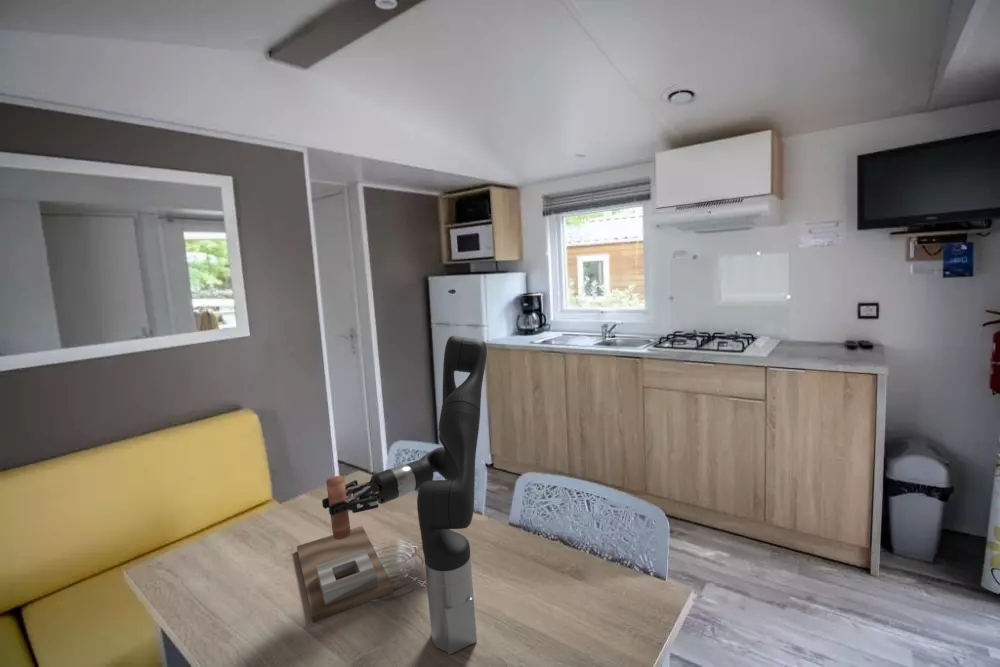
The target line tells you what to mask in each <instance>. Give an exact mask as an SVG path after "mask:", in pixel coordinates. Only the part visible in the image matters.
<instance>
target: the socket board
mask: <svg viewBox="0 0 1000 667" xmlns="http://www.w3.org/2000/svg"><path fill="white" fill-rule="evenodd" d="M350 531H351V534H350V535H349V536H348V537H347V538H344V539H340V540H337V539H334V538H333V534H331V535H328V536H325V537H322V538H319V539H315V540H312V541H309V542H305V543H302V544H299V545H296V550H297V555H298V560H299V564H300V568H301V573H302V578H303V583H304V586H305V587H304V588H305V591H306V596H307V601H308V605H309V610H310V615H311V619H312V623H316V622H318V621H322V620H324V619H326V618H330V617H331V616H334V615H336V614H339V613H341V612H344V611H348V610H350V609H352V608H354V607H355V608H356V607H358V606H360V605H362V604H366V603H367V602H368V603H369V602H370V601H373V600H376V599H378V598H380V597H381V598H382V597H383V596H385V595H388V593H389V594H391V593H393V591H394V585H393V583H392V581H391V579H390V577H389V575H388V574H387V571H386V569H385V568H384V565H383V564H382V562H381V560H380V557H379V556H378V553H377V552H376V549H375V548H374V546H373V544H372V542H371V541H370V538H369V537H368V534H367V533H366V530H365V528H364V527H363V525H361V526H357V527H354V528H350ZM390 592H391V593H390Z"/></svg>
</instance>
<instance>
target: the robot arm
mask: <svg viewBox="0 0 1000 667" xmlns="http://www.w3.org/2000/svg"><path fill="white" fill-rule="evenodd" d="M487 349H488V348H487V344H486V342H485V341H484V340H483V339H479V338H473V337H466V336H460V335H459V336H458V335H451V336H449V337H448V339H447V341H446V344H445V348H444V354H443V367H442V368H443V369H442V405H441V410H440V415H439V416H440V417H439V421H438V440H439V442H440V443H441V445H442V447H436V448H435V449H433V450H431V451H430V452H428V453H426V454H425V455H424V456H423V457H421V458H420V459H418V460H414V461H411V462H409V463H406V464H402V465H397V466H394V467H391V468H388V469H385V470H383V471H379V472H376V473H374V474H372V475H371V477H370V480H369V481H368V482H361V483H359V482H358V480H353V481H350V482H348V483H347V484H345V489H346V497H347V500H346V502H345V501H342V502H339V503H336V504H333V505H331V506H329V499H328V497H326V498H323V499H322V501H321V503H322V504H321V505H322V507H323V509H324V510H325V509H328V514H329V516H330V517H331V516H333V515H335V514H338V513H341V512H343V511H346V510H347V511H348V512H351V511H352V514H357V513H361V512H365V511H370V510H374V509H378V508H379V507H380V506H379V504H380V505H382V504H383V505H384V504H386V503H388V502H390V501H393V500H396V499H399V498H401V497H403V496H404V497H405V496H407V495H408V494H410V493H411V492H414V491H416V490H418V492H417V497H416V499H417V500H416V502H417V503H416V507H417V508H416V510H417V517H418V524H419V529H420V537H421V538H420V539H421V544H422V545H421V546H422V553H423V556H424V565H425V566H424V567H425V577H426V578H425V579H426V589H427V600H428V612H429V622H430V633H431V641H432V643H433V644H434V646H435V647H436V648H438V649H440V650H441V651H445V652H446V653H447V654H448V655H452V654H455V653H456V652H458V651H460V650H463V649H465V648H466V647H468V646H469V647H470V646H471V645H474V644H476V643H477V640H478V639H477V624H476V611H475V596H474V586H473V572H472V571H473V570H472V558H471V547H470V546H471V545H470V543H469V540H468V539H467V537H466V536H464V535H463V534H461V533H459V532H457V531H454V530H460V529H461V530H462V529H467V528H468V527H469V526H470V525H471V524H472V521H473V516H474V509H475V490H476V489H475V488H476V487H475V484H476V483H475V481H476V480H475V478H476V456H477V447H478V437H479V431H480V421H481V420H480V419H481V401H482V388H483V382H484V374H485V369H486V362H487V356H488V355H487V354H488V353H487V352H488V350H487ZM455 372H460V373H462V372H463V373H466V374H467V373H468V376H467V378H466V379H465V380H464V381H463V382H462V383H461V384H459V385H458V387H457V385H456V381H455V379H456V378H455ZM434 473H438V474H439V475H440V476H441V477H442V478H444V479H442V480H441V479H439V480H438V479H434Z"/></svg>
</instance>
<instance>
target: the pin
mask: <svg viewBox="0 0 1000 667" xmlns="http://www.w3.org/2000/svg"><path fill="white" fill-rule="evenodd" d="M345 480H346V479H345V477H344V476H343V475H335V476H331V477H329V478H327V479H326V490H327V498H328V499H329V506H331V505H333V504H336V503H339V502H342V501H345V502H346V500H347V497H348V496H347V497H346V489H345V485H346V482H345ZM349 514H350V513H349V511H347V510H346V511H343V512H341V513H338V514H335V515H333V516H331V515H330V521H331V530H332V535H333V538H334V539H337V540H340V539H344V538H347V537H348V536H349V535H350V534H351V531H350V529H351V525H350V522H351V521H350V516H349Z"/></svg>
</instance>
